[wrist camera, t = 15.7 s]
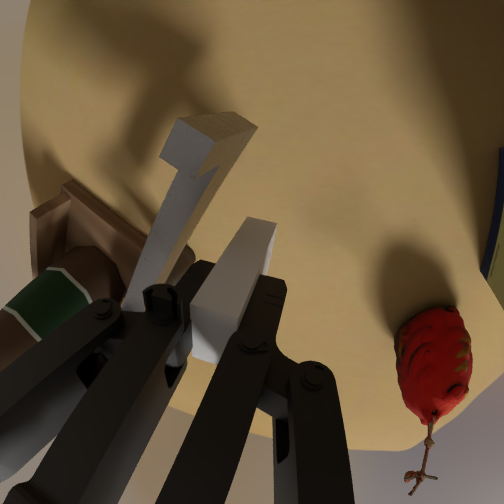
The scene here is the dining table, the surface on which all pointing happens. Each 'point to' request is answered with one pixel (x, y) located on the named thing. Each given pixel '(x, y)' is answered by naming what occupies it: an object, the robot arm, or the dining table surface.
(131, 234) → the wooden crate
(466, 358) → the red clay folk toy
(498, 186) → the protein box
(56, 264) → the beer bottle
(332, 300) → the dining table surface
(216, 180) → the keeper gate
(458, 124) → the dining table surface
